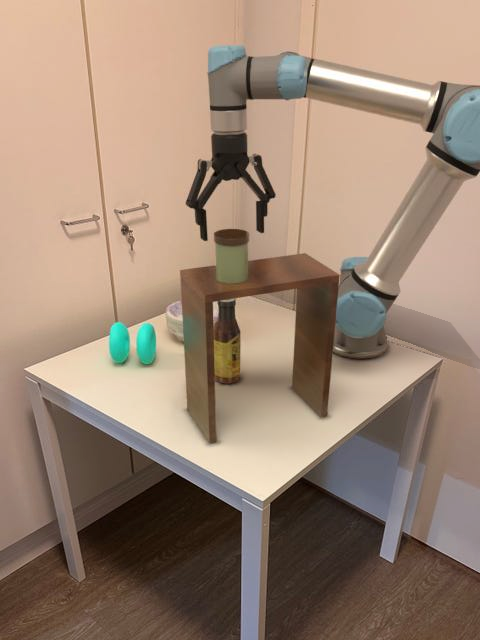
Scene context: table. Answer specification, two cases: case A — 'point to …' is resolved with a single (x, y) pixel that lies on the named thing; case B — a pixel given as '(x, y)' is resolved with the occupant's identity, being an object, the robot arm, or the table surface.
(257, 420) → the table surface
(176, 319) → the paper bowls
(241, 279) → the spice jar
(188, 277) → the shelf
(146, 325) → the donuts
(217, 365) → the sauce bottle
